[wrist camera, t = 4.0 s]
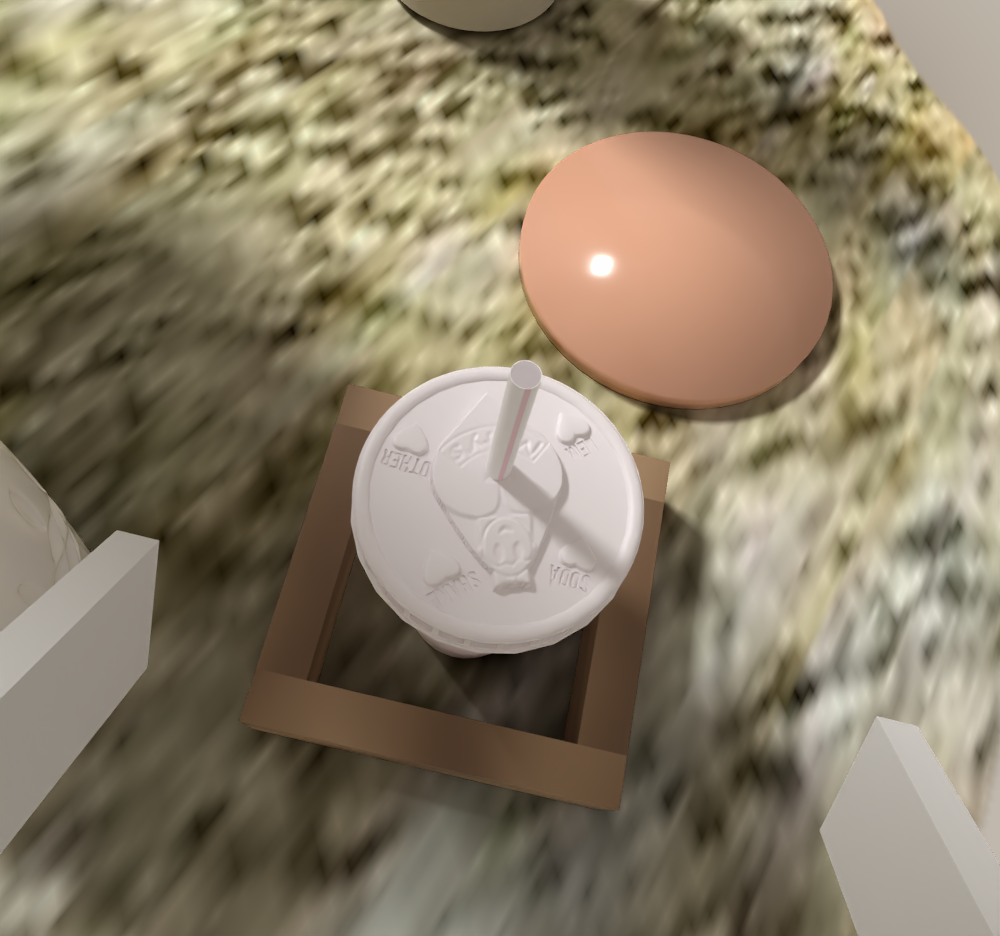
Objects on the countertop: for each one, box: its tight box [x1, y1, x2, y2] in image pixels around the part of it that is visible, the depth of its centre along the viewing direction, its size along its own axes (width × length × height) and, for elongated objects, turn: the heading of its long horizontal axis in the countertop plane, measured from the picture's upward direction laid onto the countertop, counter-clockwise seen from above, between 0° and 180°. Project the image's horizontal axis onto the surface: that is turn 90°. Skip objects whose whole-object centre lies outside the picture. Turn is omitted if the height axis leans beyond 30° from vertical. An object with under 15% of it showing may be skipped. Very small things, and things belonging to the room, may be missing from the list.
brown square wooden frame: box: [239, 384, 670, 810], centre depth 26 cm, size 10×10×2 cm
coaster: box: [518, 132, 833, 409], centre depth 32 cm, size 12×12×1 cm
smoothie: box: [351, 360, 644, 658], centre depth 20 cm, size 6×6×14 cm
